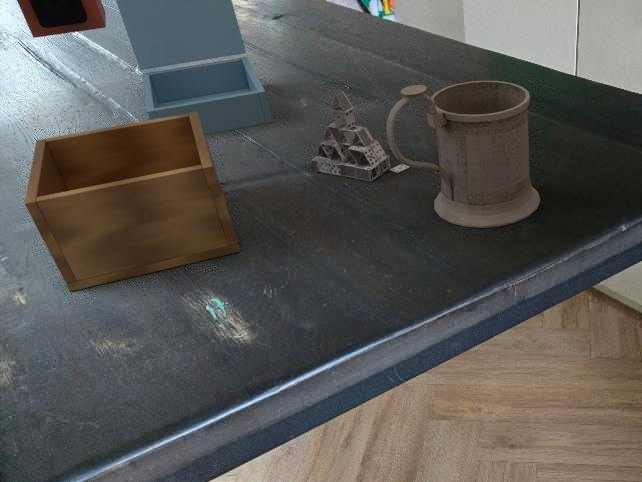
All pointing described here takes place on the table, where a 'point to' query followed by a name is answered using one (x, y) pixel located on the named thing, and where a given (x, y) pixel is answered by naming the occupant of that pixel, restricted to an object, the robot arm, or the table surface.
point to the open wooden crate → (129, 200)
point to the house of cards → (351, 147)
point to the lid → (180, 30)
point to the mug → (477, 151)
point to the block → (94, 21)
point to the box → (209, 95)
